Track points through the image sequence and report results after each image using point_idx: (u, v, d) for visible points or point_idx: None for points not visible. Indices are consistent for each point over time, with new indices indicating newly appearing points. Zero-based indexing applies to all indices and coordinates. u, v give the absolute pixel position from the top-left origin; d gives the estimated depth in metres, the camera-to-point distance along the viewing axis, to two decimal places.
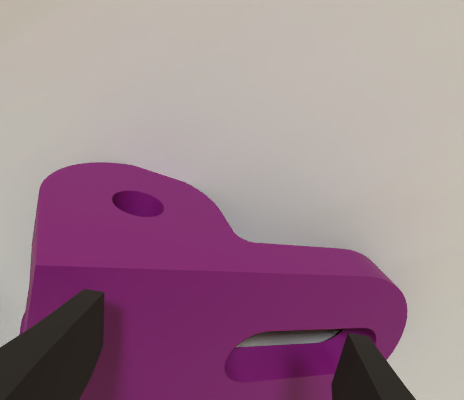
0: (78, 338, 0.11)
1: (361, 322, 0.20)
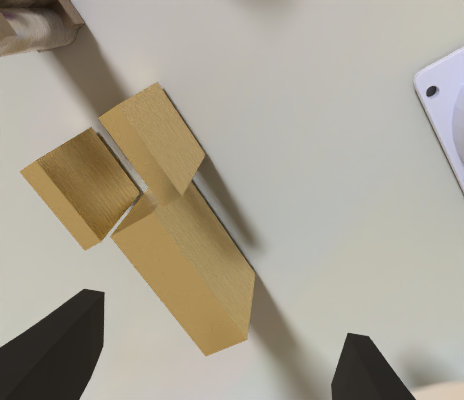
0: (78, 338, 0.11)
1: None
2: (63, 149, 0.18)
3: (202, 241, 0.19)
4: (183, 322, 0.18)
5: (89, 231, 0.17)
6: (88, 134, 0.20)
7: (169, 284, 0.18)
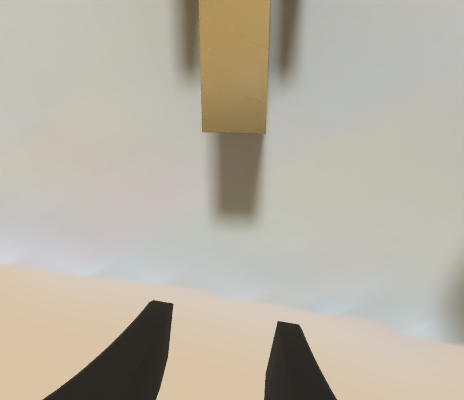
0: (156, 351, 0.11)
1: None
2: None
3: None
4: (206, 70, 0.14)
5: None
6: None
7: (225, 6, 0.13)
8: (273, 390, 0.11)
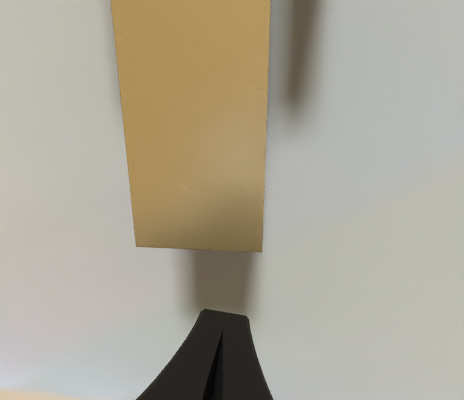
0: (215, 361, 0.11)
1: None
2: None
3: None
4: (137, 131, 0.07)
5: None
6: None
7: None
8: (216, 380, 0.11)
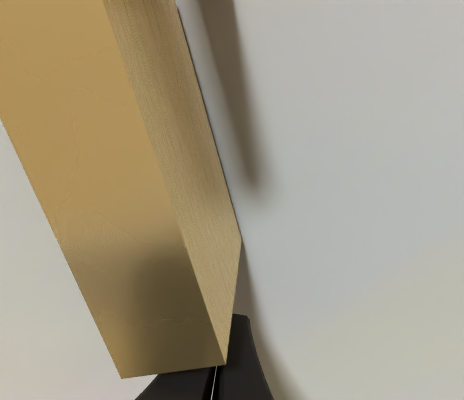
0: None
1: None
2: None
3: (181, 130, 0.09)
4: (93, 294, 0.08)
5: None
6: None
7: (84, 194, 0.07)
8: (217, 381, 0.11)
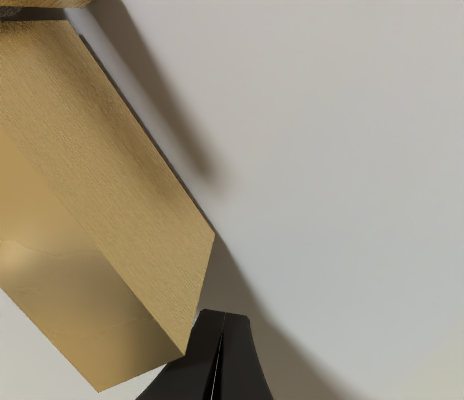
0: (215, 361, 0.11)
1: None
2: None
3: (88, 144, 0.09)
4: (40, 318, 0.08)
5: None
6: None
7: None
8: (216, 380, 0.11)
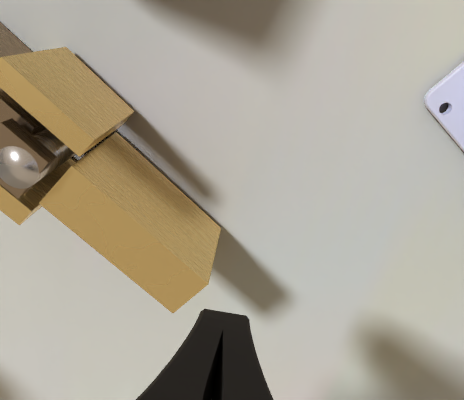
0: (215, 361, 0.11)
1: None
2: None
3: (142, 195, 0.18)
4: (138, 280, 0.17)
5: (17, 203, 0.16)
6: None
7: (112, 241, 0.17)
8: (216, 380, 0.11)
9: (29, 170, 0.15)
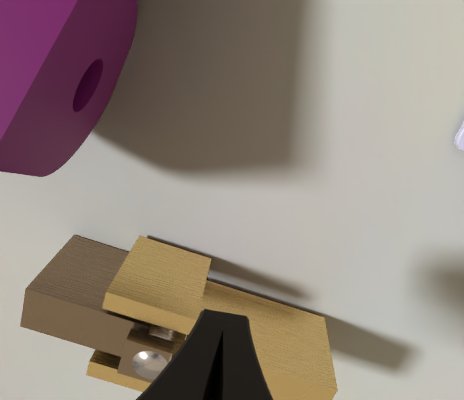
0: (215, 361, 0.11)
1: None
2: None
3: None
4: None
5: None
6: None
7: None
8: (216, 380, 0.11)
9: (160, 363, 0.18)
